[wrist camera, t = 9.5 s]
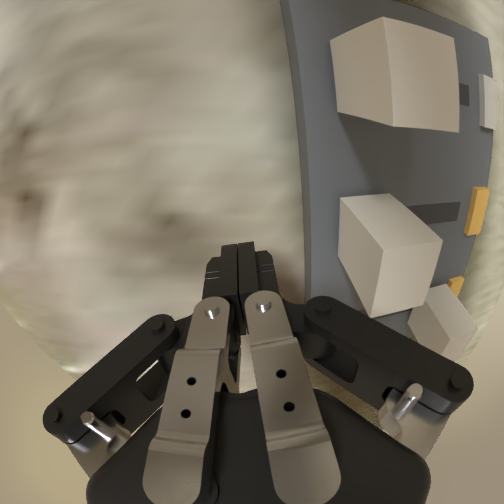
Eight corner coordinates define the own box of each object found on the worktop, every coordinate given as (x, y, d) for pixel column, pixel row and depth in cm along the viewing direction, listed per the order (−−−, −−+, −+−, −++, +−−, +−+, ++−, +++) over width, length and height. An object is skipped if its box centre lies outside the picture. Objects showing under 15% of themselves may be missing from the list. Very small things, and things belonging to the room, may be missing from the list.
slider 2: (418, 290, 17) (450, 339, 13) (446, 283, 17) (478, 327, 13) (407, 322, 19) (431, 369, 15) (433, 314, 19) (459, 357, 15)
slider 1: (329, 40, 9) (382, 16, 5) (386, 46, 9) (453, 37, 5) (337, 111, 11) (392, 126, 7) (391, 113, 11) (458, 132, 6)
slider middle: (339, 197, 13) (383, 250, 9) (389, 193, 13) (442, 240, 9) (337, 255, 15) (369, 318, 11) (382, 249, 15) (423, 304, 11)
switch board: (279, -1, 9) (287, -17, 7) (469, 38, 9) (492, 38, 7) (304, 344, 23) (309, 367, 21) (431, 314, 23) (442, 331, 21)
